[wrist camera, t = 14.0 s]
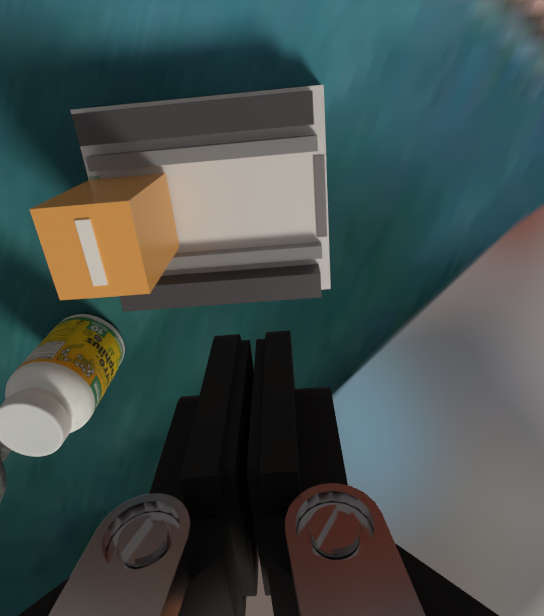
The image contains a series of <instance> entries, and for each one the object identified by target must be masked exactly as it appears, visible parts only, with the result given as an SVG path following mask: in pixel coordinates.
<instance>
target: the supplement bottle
mask: <svg viewBox="0 0 544 616" xmlns="http://www.w3.org/2000/svg"><path fill="white" fill-rule="evenodd" d="M124 353H125V347H124V343H123V340H122V337H121V335H120V334H119V332H118V331H117V330H116V329H115V328H114V326H112V325H111V324H109V323H108V322H106V321H104V320H103V319H101V318H99V317H96V316H93V315H88V314H77V315H72V316H69V317H67V318H65V319H64V320H62V321H61V322H60V323H59V324H58V325H57V326H56V327H55V328H54V329H53V330H52V331H51V332H50V333H49V334H48V335H47V336H46V337H45V339H44V340H43V341H42V342H41V343H40V344H39V345H38V346H37V347H36V349H35V350H34V351H33V352H32V353H31V354H30V355H29V356H28V357H27V358H26V359H25V361H24V362H23V363H22V364H21V365H20V366H19V367H18V368H17V369H16V371H15V372H14V373H13V374H12V375H11V377H10V378H9V380H8V382H7V385H6V390H5V398H6V400H5V401H4V402H3V404H2V405H1V406H0V441H1V442H2V443H3V444H4V445H5V446H7V447H8V448H10V449H11V450H13V451H15V452H18V453H20V454H23V455H27V456H35V457H37V456H46V455H49V454H52V453H53V452H55V451H56V450H58V449H59V448H60V446H61V445H62V444H63V442H64V440H65V439H66V437H67V436H68V435H69V433H71V432H74V431H76V430H78V429H79V428H81V427H82V426H83V425H84V424H86V422H87V421H88V420H89V419H90V417H91V416H92V414H93V413H94V411H95V409H96V407H97V405H98V403H99V402H100V400H101V398H102V396H103V395H104V393H105V391H106V389H107V387H108V386H109V384H110V382H111V380H112V378H113V377H114V375H115V373H116V371H117V369H118V368H119V366H120V364H121V362H122V360H123V357H124Z"/></svg>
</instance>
